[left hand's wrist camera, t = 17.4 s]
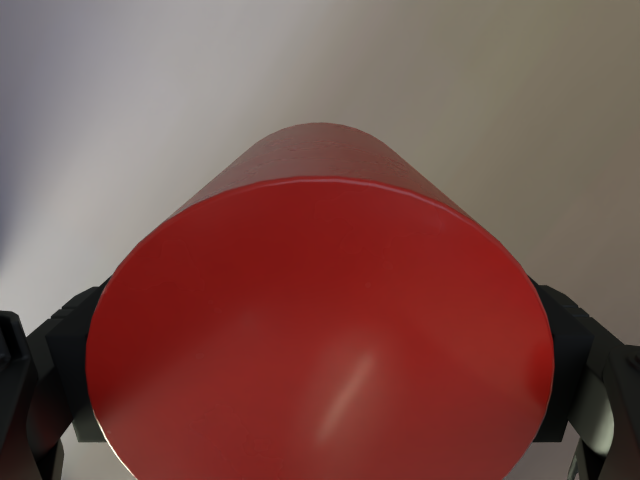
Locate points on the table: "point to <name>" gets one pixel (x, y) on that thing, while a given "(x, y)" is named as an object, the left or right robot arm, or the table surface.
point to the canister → (319, 328)
